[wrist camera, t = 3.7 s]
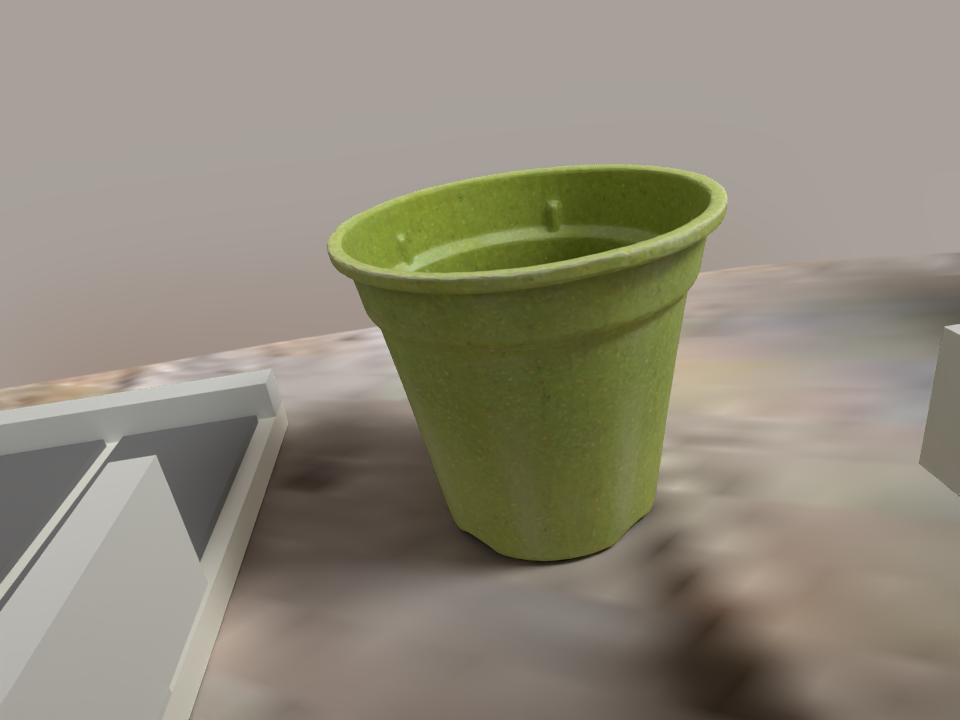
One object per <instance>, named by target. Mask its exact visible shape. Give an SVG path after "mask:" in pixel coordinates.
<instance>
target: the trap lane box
mask: <svg viewBox="0 0 960 720" xmlns="http://www.w3.org/2000/svg"><path fill="white" fill-rule="evenodd" d="M287 426H288V420H287V417H286V413H285V410H284V407H283V403H282V400H281V397H280V393H279V390H278V387H277V383H276V380H275V377H274V373H273V370H272V369H266V370H260V371H254V372H247V373H241V374H234V375H228V376H222V377H215V378H209V379H202V380H196V381H190V382H183V383H177V384H171V385H164V386H158V387H151V388H145V389H139V390H132V391H126V392H119V393H113V394H107V395H100V396H94V397H88V398H81V399H75V400H68V401H62V402H56V403H49V404H43V405H36V406H30V407H24V408H17V409H11V410H5V411H0V612H1V610H2V609H3V607H4V606H5V605H6V603H7V602H8V600H9V599H10V598H11V596H12V595H13V594H14V592H15V591H16V589H17V588H18V587H19V585H20V584H21V583H22V581H23V580H24V578H25V577H26V576H27V574H28V573H29V571H30V570H31V569H32V567H33V566H34V565H35V563H36V562H37V560H38V559H39V558H40V556H41V555H42V554H43V552H44V551H45V549H46V548H47V547H48V545H49V544H50V543H51V541H52V540H53V538H54V537H55V536H56V534H57V533H58V531H59V530H60V529H61V527H62V526H63V525H64V523H65V522H66V520H67V519H68V518H69V516H70V515H71V514H72V512H73V511H74V509H75V508H76V507H77V505H78V504H79V502H80V501H81V500H82V498H83V497H84V496H85V494H86V493H87V491H88V490H89V489H90V487H91V486H92V485H93V483H94V482H95V480H96V479H97V478H98V476H99V475H100V473H101V472H102V471H103V469H104V468H105V467H106V465H107V464H108V463H109V462H115V461H121V460H128V459H134V458H140V457H146V456H152V455H156V456H157V458H158V461H159V463H160V466H161V468H162V471H163V473H164V476H165V478H166V481H167V483H168V486H169V488H170V490H171V493H172V495H173V498H174V500H175V503H176V505H177V508H178V510H179V513H180V515H181V517H182V520H183V522H184V525H185V527H186V530H187V532H188V535H189V537H190V540H191V542H192V544H193V547H194V549H195V552H196V554H197V557H198V559H199V562H200V564H201V567H202V569H203V572H204V574H205V576H206V579H207V581H208V585H207V588H206V591H205V593H204V596H203V599H202V601H201V604H200V607H199V609H198V612H197V615H196V617H195V620H194V623H193V625H192V628H191V631H190V633H189V636H188V639H187V641H186V644H185V647H184V649H183V652H182V655H181V657H180V660H179V663H178V665H177V668H176V670H175V673H174V676H173V678H172V681H171V684H170V686H169V689H168V692H167V694H166V697H165V700H164V702H163V705H162V708H161V710H160V713H159V716H158V718H157V720H189V718H190V715H191V712H192V709H193V706H194V703H195V700H196V697H197V694H198V691H199V688H200V685H201V682H202V679H203V676H204V673H205V670H206V667H207V664H208V661H209V658H210V655H211V653H212V650H213V647H214V644H215V641H216V638H217V635H218V632H219V629H220V626H221V623H222V620H223V617H224V614H225V611H226V608H227V605H228V602H229V599H230V596H231V593H232V590H233V587H234V584H235V581H236V578H237V575H238V572H239V569H240V566H241V563H242V560H243V557H244V554H245V551H246V548H247V545H248V542H249V540H250V537H251V534H252V531H253V528H254V525H255V522H256V519H257V516H258V513H259V510H260V507H261V504H262V501H263V498H264V495H265V492H266V489H267V486H268V483H269V480H270V477H271V474H272V471H273V468H274V465H275V462H276V459H277V456H278V453H279V450H280V447H281V444H282V441H283V438H284V435H285V432H286V429H287Z"/></svg>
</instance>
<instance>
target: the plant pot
mask: <svg viewBox="0 0 960 720" xmlns="http://www.w3.org/2000/svg"><path fill="white" fill-rule="evenodd" d="M726 210H727V194H726V192H725V189H724V188H723V187H722V186H721V185H720V184H718V183H717V182H716V181H714V180H712V179H711V178H709V177H707V176H704V175H701V174H699V173H693V172H689V171H685V170H681V169H673V168H666V167H657V166H645V165H627V164H624V165H623V164H620V165H578V166H562V167H550V168H540V169H529V170H521V171H514V172H508V173H499V174H495V175H490V176H482V177H477V178H471V179H467V180H462V181H459V182H453V183H448V184H444V185H438V186H435V187H430V188H427V189H423V190H419V191H416V192H413V193H410V194H407V195H404V196H400V197H398V198H394V199H392V200H389V201H386V202H384V203H381V204H379V205H377V206H375V207H372V208H371V209H369V210H367V211H364V212H362V213H360V214H357V215H355V216H353V217H351V218H350V219H348V220H347V221H345V222H343V223H342V224H341V225H340V226H338V227H337V228H336V229H335V231H334V233H333V234H332V235H330V237H329V239H328V243H327V250H328V254H329V257H330V260H331V262H332V264H333V265H334V267H335V268H336V269H337V270H338V271H339V272H340V273H342V274H344V275H346V276H347V277H349V278H351V279H353V280H354V283H355V285H356V288H357V290H358V292H359V295H360V298H361V300H362V303H363V305H364V308H365V310H366V312H367V314H368V316H369V317H370V318H371V320H372V321H373V322H374V323H375V324H376V325H377V326H378V327H379V328H380V329H381V331H382V333H383V336H384V338H385V341H386V343H387V346H388V348H389V351H390V354H391V356H392V359H393V361H394V364H395V366H396V369H397V371H398V374H399V376H400V379H401V382H402V384H403V387H404V389H405V392H406V395H407V397H408V400H409V402H410V405H411V408H412V410H413V413H414V416H415V418H416V421H417V424H418V427H419V429H420V432H421V435H422V437H423V440H424V443H425V445H426V448H427V450H428V453H429V456H430V459H431V461H432V464H433V467H434V470H435V472H436V475H437V478H438V481H439V483H440V486H441V489H442V492H443V494H444V497H445V500H446V502H447V505H448V508H449V510H450V513H451V515H452V517H453V519H454V521H455V523H456V524H457V526H458V527H459V528H460V529H461V530H462V531H466V532H468V533H470V534H472V535H474V536H475V537H477V538H478V539H479V540H481V541H483V542H484V543H486V544H487V545H488V546H490V547H491V548H492V549H494V550H495V551H496V552H497V553H499V554H502V555H504V556H508V557H513V558H517V559H525V560H538V561H552V560H563V559H570V558H575V557H581V556H585V555H589V554H592V553H595V552H598V551H601V550H603V549H606V548H608V547H610V546H612V545H614V544H615V543H616V542H617V541H619V539H620V538H621V537H622V536H623V535H624V534H625V533H626V532H627V531H628V529H629V528H630V527H631V526H632V525H633V524H635V523H636V522H637V521H638V520H639V519H640V518H641V517H643V516H644V515H646V514H648V513H649V512H650V510H651V508H652V506H653V503H654V499H655V494H656V487H657V480H658V473H659V467H660V461H661V455H662V447H663V440H664V433H665V425H666V418H667V411H668V405H669V399H670V392H671V386H672V380H673V374H674V367H675V361H676V355H677V349H678V343H679V337H680V331H681V326H682V320H683V314H684V308H685V303H686V297H687V292H688V290H689V289H690V288H691V286H692V285H693V284H694V282H695V280H696V278H697V276H698V274H699V271H700V267H701V262H702V256H703V251H704V246H705V242H706V237H707V236H708V235H709V234H710V233H711V232H713V231H714V230H715V229H716V228H717V227H718V226H719V225H720V224H721V222H722V220H723V219H724V217H725V214H726Z"/></svg>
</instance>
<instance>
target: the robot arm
mask: <svg viewBox="0 0 960 720" xmlns="http://www.w3.org/2000/svg"><path fill="white" fill-rule="evenodd" d="M919 464H921V465H922V466H923V467H924V468H925V469H927V470H928V471H929V472H930V473H932V474H933V475H934V476H935V477H936V478H938V479H939V480H940V481H941V482H942V483H944V484H945V485H946V486H947V487H949V488H950V489H951V490H952V491H953V492H955V493H956V494H957V495H958V496H960V324H957V325H950V326H944V329H943V334H942V340H941V345H940V351H939V356H938V362H937V367H936V373H935V378H934V384H933V389H932V395H931V400H930V406H929V411H928V417H927V422H926V428H925V433H924V439H923V444H922V450H921V455H920V461H919ZM207 585H208V581H207V579H206V576H205V574H204V572H203V569H202V567H201V564H200V562H199V559H198V557H197V554H196V552H195V549H194V547H193V544H192V542H191V540H190V537H189V535H188V532H187V530H186V527H185V525H184V522H183V520H182V517H181V515H180V513H179V510H178V508H177V505H176V503H175V500H174V498H173V495H172V493H171V490H170V488H169V486H168V483H167V481H166V478H165V476H164V473H163V471H162V468H161V466H160V463H159V461H158V458H157V456H156V455H152V456H146V457H140V458H134V459H128V460H121V461H115V462H109V463H108V464H107V465H106V467H105V468H104V469H103V471H102V472H101V473H100V475H99V476H98V478H97V479H96V480H95V482H94V483H93V485H92V486H91V487H90V489H89V490H88V491H87V493H86V494H85V496H84V497H83V498H82V500H81V501H80V502H79V504H78V505H77V507H76V508H75V509H74V511H73V512H72V514H71V515H70V516H69V518H68V519H67V520H66V522H65V523H64V525H63V526H62V527H61V529H60V530H59V531H58V533H57V534H56V536H55V537H54V538H53V540H52V541H51V543H50V544H49V545H48V547H47V548H46V549H45V551H44V552H43V554H42V555H41V556H40V558H39V559H38V560H37V562H36V563H35V565H34V566H33V567H32V569H31V570H30V571H29V573H28V574H27V576H26V577H25V578H24V580H23V581H22V583H21V584H20V585H19V587H18V588H17V589H16V591H15V592H14V594H13V595H12V596H11V598H10V599H9V600H8V602H7V603H6V605H5V606H4V607H3V609H2V610H1V612H0V720H157V718H158V716H159V713H160V710H161V708H162V705H163V702H164V700H165V697H166V694H167V692H168V689H169V686H170V684H171V681H172V678H173V676H174V673H175V670H176V668H177V665H178V663H179V660H180V657H181V655H182V652H183V649H184V647H185V644H186V641H187V639H188V636H189V633H190V631H191V628H192V625H193V623H194V620H195V617H196V615H197V612H198V609H199V607H200V604H201V601H202V599H203V596H204V593H205V591H206V588H207Z"/></svg>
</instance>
